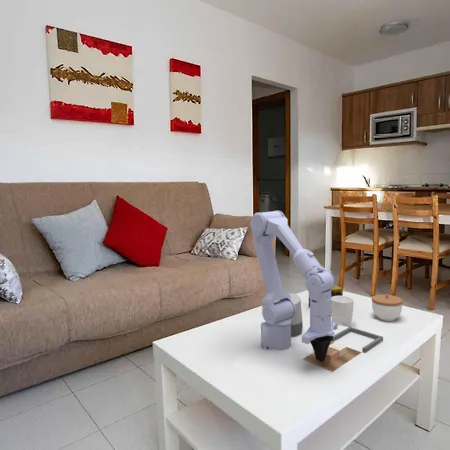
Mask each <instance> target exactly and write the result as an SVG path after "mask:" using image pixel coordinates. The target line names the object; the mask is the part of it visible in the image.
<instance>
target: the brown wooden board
mask: <svg viewBox="0 0 450 450" xmlns="http://www.w3.org/2000/svg"><path fill="white" fill-rule="evenodd" d="M334 342H335V341H334ZM334 342H332V341H331V343H330V345H331V344H333V343H334ZM362 353H363V352H362V351H359V350H357V349H354V348H351V347H347V353H346V354H344V355H342V356H341V357H338V359H336V360H334V361H333V362H331V363H330V362H328V361H325V360H324V361H323V362H321V361H318V360H316V357H315V353H314V352H312V353H310V354H309V355H307V356H306V357H303V358H302V361H304V362H305V361H306V362H308V363H310V364H312V365H315V366H317V367H320V368H322V369H325V370H327V371H330V372H331V373H333V372H335V371H336V370H338V369H339V368H341V367H342V366H344V365H345V364H347V363H348V362H350V361H351V360H352V359H355V358H356V357H357V356H359V355H361V354H362Z"/></svg>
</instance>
